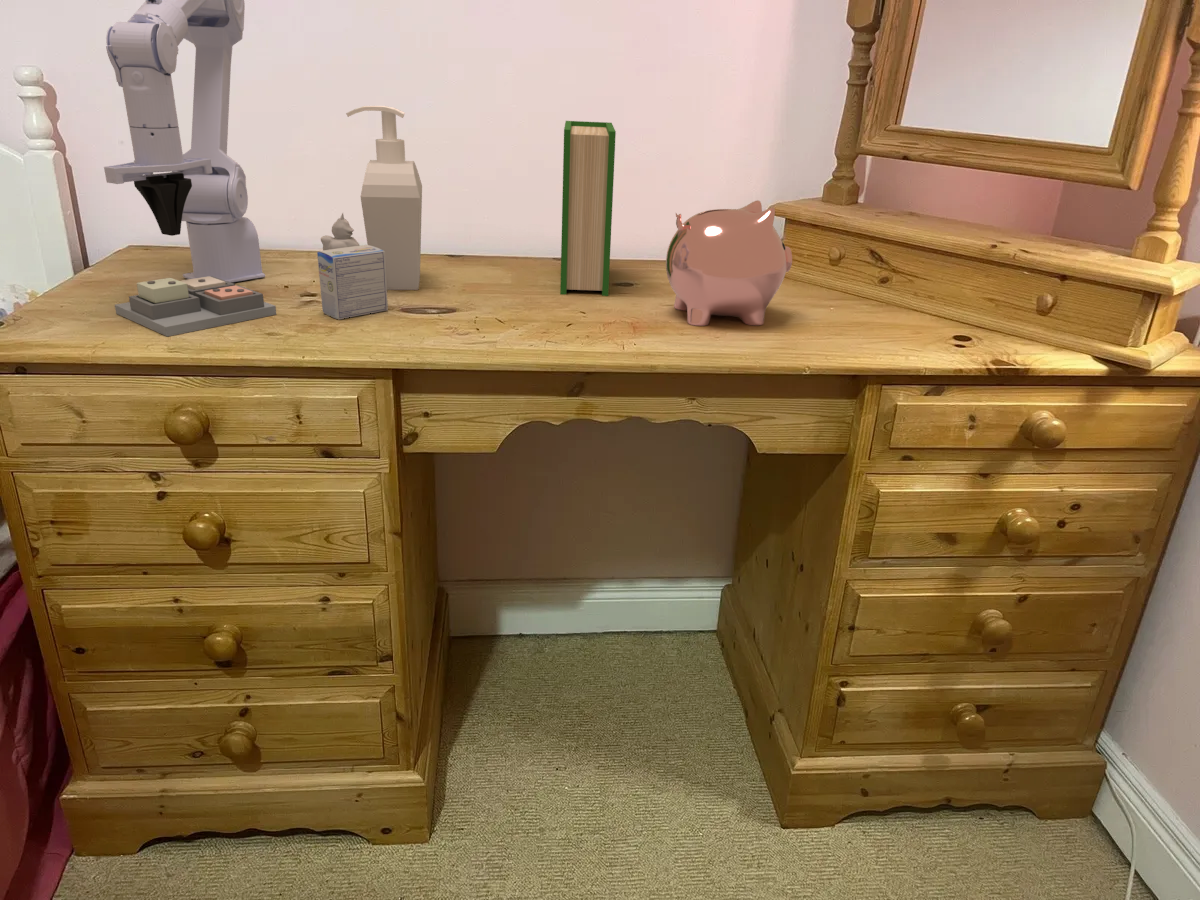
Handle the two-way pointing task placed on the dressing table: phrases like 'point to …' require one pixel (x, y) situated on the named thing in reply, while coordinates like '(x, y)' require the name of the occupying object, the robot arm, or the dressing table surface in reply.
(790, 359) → the dressing table surface
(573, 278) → the hardback book
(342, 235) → the rubber duck
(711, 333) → the dressing table surface
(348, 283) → the medicine box
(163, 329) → the stacking puzzle board
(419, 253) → the soap bottle
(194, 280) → the tile ivory
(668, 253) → the piggy bank
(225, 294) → the tile coral
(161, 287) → the tile sage
